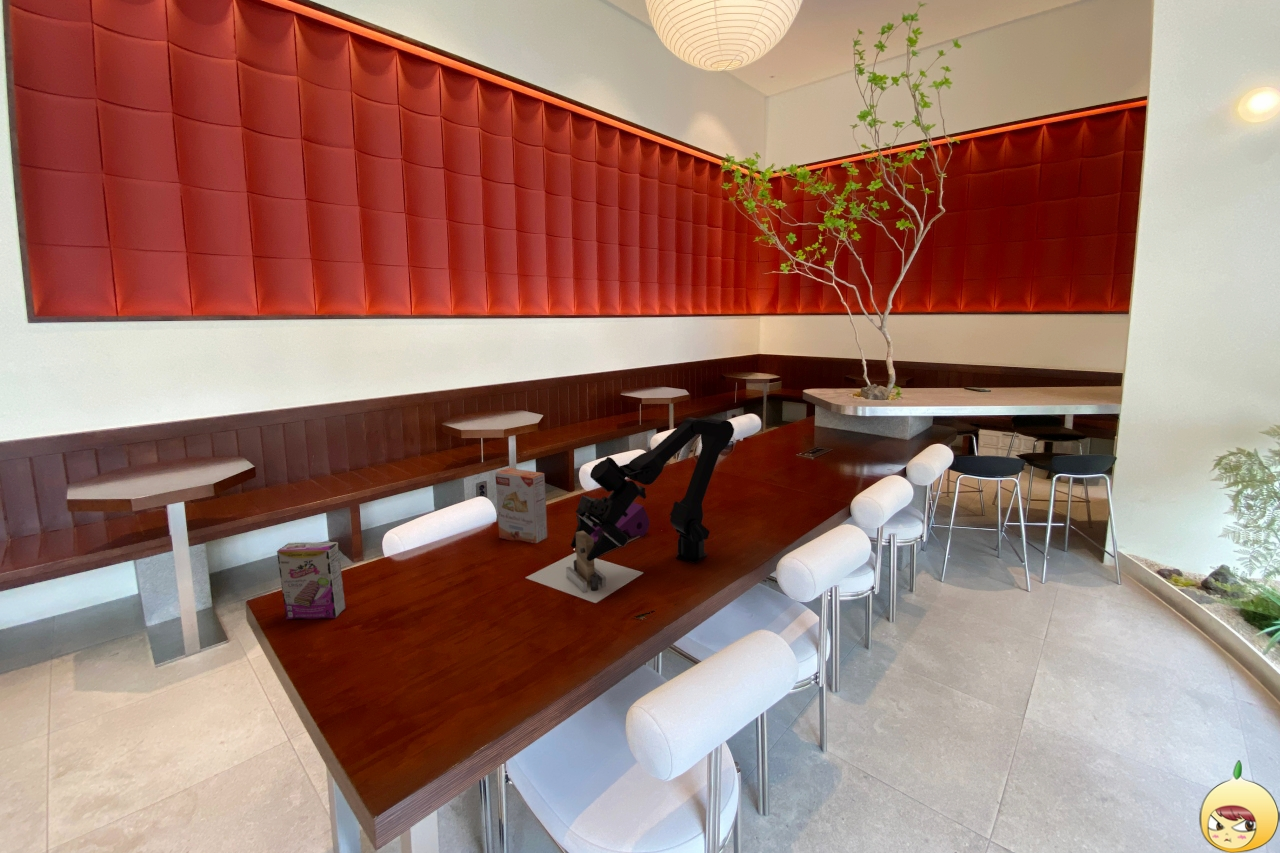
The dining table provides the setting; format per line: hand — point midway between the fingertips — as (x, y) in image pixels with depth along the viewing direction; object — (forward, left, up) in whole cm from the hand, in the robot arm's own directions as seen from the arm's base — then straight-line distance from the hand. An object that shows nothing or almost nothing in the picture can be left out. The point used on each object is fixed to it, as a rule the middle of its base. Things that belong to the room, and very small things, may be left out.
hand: (579, 553), depth 140 cm
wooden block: (-1, -1, -8) cm, 8 cm away
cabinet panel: (+2, -4, -9) cm, 10 cm away
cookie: (-18, -1, -9) cm, 20 cm away
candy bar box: (+40, +44, -9) cm, 60 cm away
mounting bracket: (+13, -30, -9) cm, 34 cm away
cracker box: (+34, -13, -9) cm, 38 cm away
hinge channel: (-1, -1, -8) cm, 8 cm away
